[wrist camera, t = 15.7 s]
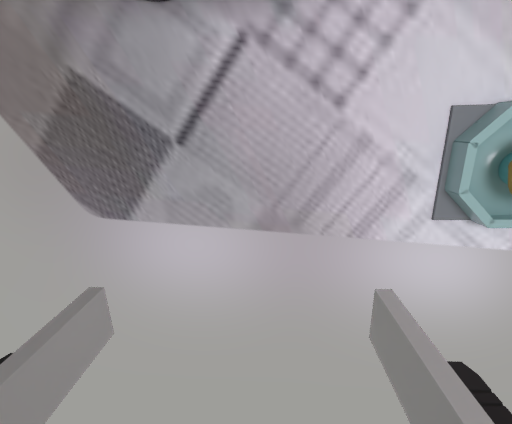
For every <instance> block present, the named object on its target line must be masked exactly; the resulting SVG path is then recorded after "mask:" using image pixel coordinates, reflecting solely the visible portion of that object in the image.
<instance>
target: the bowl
mask: <svg viewBox="0 0 512 424" xmlns="http://www.w3.org/2000/svg"><path fill="white" fill-rule="evenodd" d="M454 141H455V142H453V146H452V151H451V157H450V162H449V168H448V173H447V178H446V184H445V189H446V190H445V191H446V192H447V193H448V194H449V195H450V197H451V198H452V199H453V200H454V201H455V202H456V203H457V204H458V206H459V207H460V208H461V209H462V210H463V211H464V212H465V213H466V215H467V216H468V217H469V218H470V219H471V220H472V221H474V222H476V223H478V224H481V225H483V226H485V227H487V228H512V194H511V193H510V191H509V188H508V185H507V184H506V183H504V182H503V181H502V180H501V179H500V177H499V173H498V170H499V166H500V163H501V161H502V160H503V159H504V158H505V157H506V156H507V155H508V154H509V153H511V152H512V101H508V102H499V103H497V104H496V105H495V106H494V107H493V108H491V109H490V110H489V111H488V112H487V113H486V114H484V115H483V116H482V117H481V118H480V119H479V120H478V121H476V122H475V123H474V124H473V125H472V126H471V127H469V128H468V129H467V130H466V131H465V132H464V133H462V134H461V135H460V136H459V137H458V138H457V139H455V140H454Z"/></svg>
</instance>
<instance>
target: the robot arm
mask: <svg viewBox="0 0 512 424" xmlns="http://www.w3.org/2000/svg"><path fill="white" fill-rule="evenodd" d="M149 1H167V0H149ZM113 334H114V331H113V326H112V321H111V317H110V313H109V308H108V303H107V299H106V294H105V290H104V288H101V287H98V288H97V287H96V288H95V287H89V288H88V289H87V290H86V291H84V292H83V293H82V294H81V295H80V296H79V297H78V298H76V299H75V300H74V301H73V302H72V303H71V304H69V305H68V306H67V307H66V308H65V309H64V310H63V311H61V312H60V313H59V314H58V315H57V316H56V317H54V318H53V319H52V320H51V321H50V322H49V323H48V324H46V325H45V326H44V327H43V328H42V329H41V330H40V331H38V332H37V333H36V334H35V335H34V336H33V337H31V338H30V339H29V340H28V341H27V342H26V343H25V344H23V345H22V346H21V347H20V348H19V349H18V350H16V352H14V353H10V354H8V355H6V356H5V357H3V358H1V359H0V424H45V422H46V421H47V420H48V418H49V417H50V416H51V415H52V413H53V412H54V411H55V409H56V408H57V407H58V406H59V404H60V403H61V402H62V400H63V399H64V398H65V396H66V395H67V394H68V392H69V391H70V390H71V389H72V387H73V386H74V385H75V383H76V382H77V381H78V380H79V378H80V377H81V375H82V374H83V373H84V372H85V370H86V369H87V368H88V367H89V365H90V364H91V363H92V361H93V360H94V359H95V357H96V356H97V355H98V353H99V352H100V351H101V350H102V348H103V347H104V346H105V344H106V343H107V342H108V340H109V339H110V338H111V337H112V335H113ZM369 338H370V340H371V342H372V344H373V346H374V348H375V351H376V353H377V355H378V357H379V359H380V361H381V363H382V365H383V367H384V369H385V372H386V374H387V376H388V377H389V380H390V382H391V384H392V386H393V388H394V390H395V392H396V394H397V397H398V399H399V401H400V403H401V405H402V407H403V409H404V411H405V413H406V415H407V418H408V420H409V422H410V424H512V414H511V413H510V411H509V410H508V409H507V408H506V407H505V406H503V404H502V402H501V401H500V400H499V399H498V397H497V396H496V395H495V394H494V393H492V392H491V389H490V388H489V387H488V386H487V384H485V382H484V381H483V380H482V379H481V377H480V376H479V375H478V374H477V373H475V372H474V371H473V370H471V369H470V368H469V367H467V366H466V365H465V364H463V363H462V362H447V361H446V360H445V358H444V357H443V356H442V354H441V353H440V352H439V350H438V349H437V348H436V347H435V345H434V344H433V343H432V341H431V340H430V339H429V337H428V336H427V335H426V333H425V332H424V331H423V330H422V328H421V327H420V326H419V325H418V323H417V322H416V320H415V319H414V318H413V317H412V315H411V314H410V313H409V311H408V310H407V309H406V307H405V306H404V305H403V304H402V302H401V301H400V300H399V298H398V297H397V296H396V294H395V293H394V292H393V290H392V289H375V293H374V303H373V310H372V319H371V327H370V335H369Z"/></svg>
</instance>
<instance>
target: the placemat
mask: <svg viewBox="0 0 512 424" xmlns="http://www.w3.org/2000/svg"><path fill="white" fill-rule="evenodd" d="M495 105H496V104H488V105H455V106H451V112H450V118H449V124H448V129H447V135H446V141H445V147H444V152H443V158H442V164H441V170H440V175H439V181H438V187H437V192H436V198H435V204H434V210H433V215H432V220H471V219H470V218H469V217H468V216H467V215H466V213H465V212H464V211H463V210H462V209H461V208H460V207H459V206H458V204H457V203H456V202H455V201H454V200H453V199H452V198H451V197H450V195H449V194H448V193H447V192H446V191H445V190H446V189H445V184H446V178H447V173H448V168H449V162H450V157H451V151H452V146H453V142H455V141H454V140H455V139H457V138H458V137H459V136H460V135H461V134H462V133H464V132H465V131H466V130H467V129H468V128H469V127H471V126H472V125H473V124H474V123H475V122H476V121H478V120H479V119H480V118H481V117H482V116H483V115H484V114H486V113H487V112H488V111H489V110H490V109H491V108H493V107H494V106H495Z"/></svg>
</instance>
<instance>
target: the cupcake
mask: <svg viewBox="0 0 512 424" xmlns="http://www.w3.org/2000/svg"><path fill="white" fill-rule="evenodd" d="M498 173H499V177H500V179H501V180H502V181H503V182H504V183H506V184H507V185H508V188H509V191H510V193H511V194H512V152H511V153H509V154H508V155H507V156H506V157H505V158H504V159H503V160H502V161H501V163H500V166H499V170H498Z"/></svg>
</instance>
